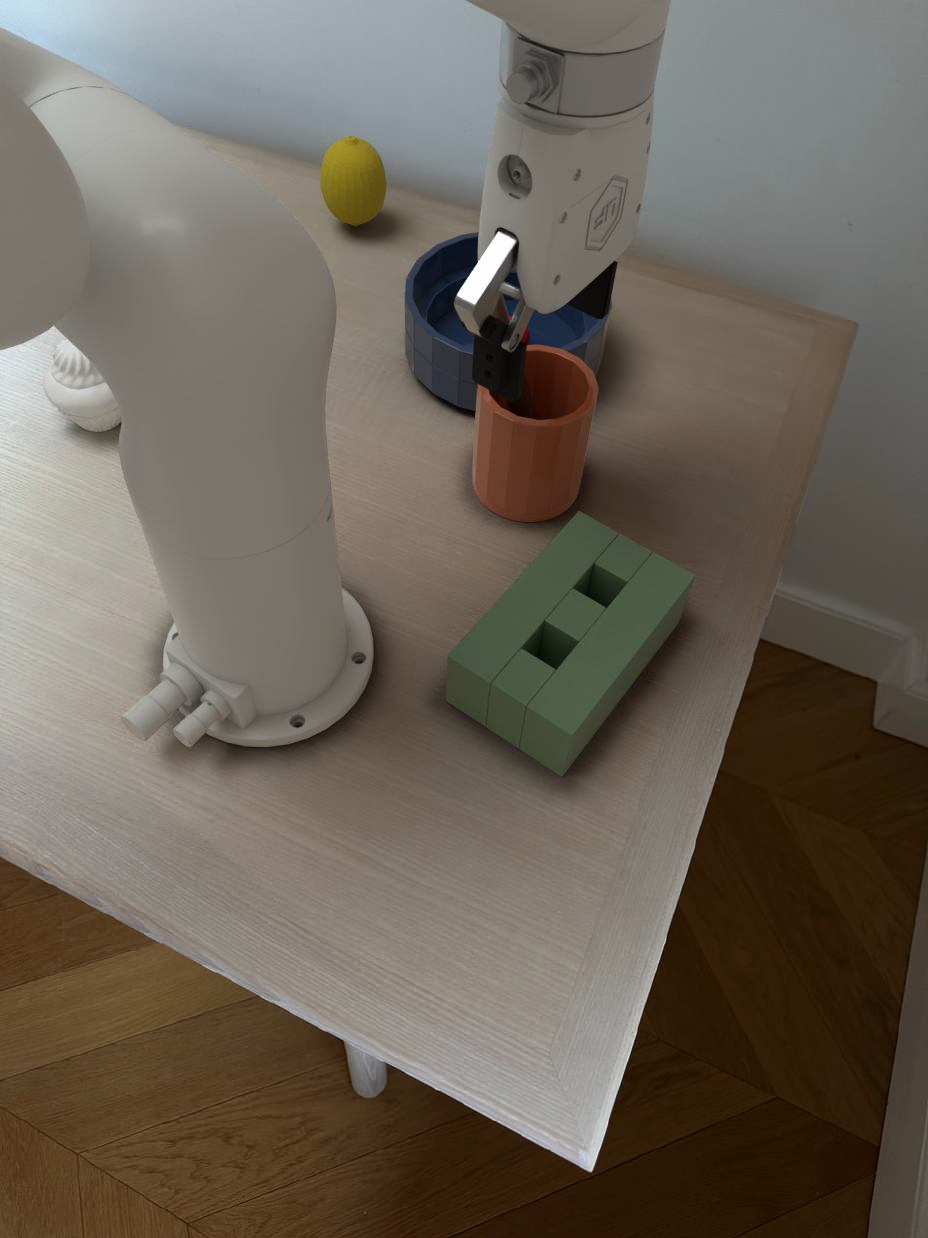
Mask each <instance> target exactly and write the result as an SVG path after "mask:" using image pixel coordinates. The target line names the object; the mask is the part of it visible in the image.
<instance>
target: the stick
mask: <svg viewBox="0 0 928 1238" xmlns="http://www.w3.org/2000/svg"><path fill="white" fill-rule="evenodd" d="M492 316H493V317H495V318H497V319H499V320H501V321H502V322H504V323H505V324H507V325H509V322H510V318H509V315H508V311H507V308H506V304H505V301H504V297H503V294H502V293H501V295H500V298H499V300H498V302H497V304H496V307H495V309H494V311H493V314H492ZM507 402H508V405H509V408H510V412H511V413H513V414H515V415H517V416H520V417H525V418H530V419H535V420H538V418H537V415H536V411H535V408H534V404H533V400H532V397H531V393H530V390H529V386H528V383H527V379H526V375H525V372H524V376H523V384H522V393H521V396H520V397H519V398H518V399H517V400H516V401H515V402H511V401H509V400H507Z"/></svg>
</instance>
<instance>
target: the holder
mask: <svg viewBox="0 0 928 1238" xmlns="http://www.w3.org/2000/svg"><path fill="white" fill-rule="evenodd" d="M695 579H696V574H695V573H693V572H691V571H689V570H687V569H685V568H684V567H682V566H680V565H678V564H676V563H674V562H673V561H671V560H669V559H667V558H665V557H663V556H662V555H660V554H658V553H657V552H655V551H653V550H651V549H649V548H647V547H645V546H643V545H642V544H640V543H638V542H636V541H635V540H633V539H631V538H629V537H628V536H625V535H624V534H622V533H619V532H618V531H616V530H614V529H613V528H611V527H609V526H608V525H605V524H604V523H602V522H600V521H598V520H596V519H595V518H593V517H591V516H589V515H587V514H585V513H584V512H582V511H580V510H577V512H576V513H575V514H574V515H573V516H572V518H571V519H570V520H569V521H568V522H567V523H566V524H565V525H564V526H563V528H561V530H560V531H559V532H558V533H557V534H556V535H555V537H553V538H552V540H551V541H550V542H549V543H548V544H547V545H546V547H545V548H543V550H542V551H541V552H540V553H539V554H538V555H537V556H536V557H535V558H534V559H533V561H532V562H531V563H530V564H529V565H528V566H527V567H526V569H524V570H523V572H522V573H521V574H520V575H519V576H518V577H517V579H515V581H513V583H512V584H511V585H510V586H509V587H508V588H507V590H506V591H505V592H504V593H502V595H500V597H499V598H498V599H497V601H495V603H494V604H493V605H492V606H491V607H490V608H489V609H488V610H487V611H486V612H485V614H484V615H483V616H482V617H481V618H480V619H479V620H478V621H477V623H476V624H474V626H473V627H472V628H471V629H470V630H469V631H468V633H466V634H465V636H463V638H462V639H461V640H460V641H459V642H458V643H457V644H456V645H455V647H454V648H453V649H452V650H451V651H450V652H449V653H448V654H447V661H446V682H445V683H446V684H445V685H446V686H445V702H447V703H448V704H450V705H451V706H452V707H454V708H456V709H457V710H459V711H460V712H462V713H463V714H465V715H467V716H468V717H470V718H471V719H473V721H475V722H477V723H479V724H480V725H482V726H483V727H486V729H488V730H489V731H491V732H492V733H493V734H495V735H497V737H500V738H501V739H503V740H504V741H506V742H508V743H509V744H510V745H512V746H514V747H515V748H516V749H519V751H521V752H523V753H524V754H526V756H528V757H530V758H532V759H533V760H535V761H536V762H538V763H539V764H541V765H542V766H543V767H545V768H547V769H548V770H549V771H551V772H552V773H554V774H556V775H557V776H559V777H561V778H563V777H564V775H565V774H566V773H567V771H568V770H569V769H570V767H571V766H572V765H573V763H574V762H575V761H576V759H578V757H579V755H581V753H582V752H583V750H584V749H585V747H586V746H587V745H588V744H589V742H590V741H591V739H592V738H593V737H594V736H595V734H596V732H598V730H599V729H600V728H601V726H602V725H603V724H604V722H606V720H607V719H608V717H609V716H610V714H611V713H612V712H613V710H615V708H616V707H617V705H618V704H619V703H620V701H621V700H622V699H623V697H624V696H625V695H626V693H627V692H628V691H629V690H630V688H631V687H632V685H633V684H634V683H635V681H636V680H637V678H639V676H640V675H641V673H642V672H643V671H644V670H645V669H646V667H647V665H648V664H650V662H651V660H652V659H653V658H654V656H655V655H656V653H657V652H658V651H659V650H660V648H661V647H662V646H663V645H664V643H665V641H666V640H667V639H668V638H669V636H670V635H671V634H672V632H673V631H674V630H675V628H677V626H678V625H679V623H680V620H681V617H682V615H683V613H684V609H685V608H686V607H685V606H686V604H687V601H688V598H689V596H690V593H691V590H692V588H693V584H694V582H695Z"/></svg>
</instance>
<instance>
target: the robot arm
mask: <svg viewBox="0 0 928 1238" xmlns="http://www.w3.org/2000/svg"><path fill="white" fill-rule="evenodd" d="M465 2H468V3H469V4H471V5H474V6H475V7H477V8H479V9H481V10H482V11H485V12H486V13H489V14H490V15H492V16H495V17H496V18H498V19H500V20H501V28H500V43H499V59H498V74H497V88H498V91H499V93H500V96H501V98H500V100H499V101H498V104H497V109H496V114H495V118H494V123H493V127H492V132H491V133H492V134H491V137H490V144H489V149H488V155H487V161H486V167H485V173H484V182H483V187H482V195H481V204H480V214H479V225H478V232H479V236H478V263H477V265H476V266H475V268H474V269H473V271H472V272H471V274H470V275H469V277H468V278H467V280H466V281H465V283H464V284H463V286H462V288H461V289H460V291H459V292H458V294H457V295H456V297H455V301H454V307H455V309H456V311H457V313H458V315H459V317H460V319H461V325H462V327H463V328H465V329H466V330H468V331H469V332H471V333H473V334H474V348H473V365H472V378H473V380H474V382H475V383H477V384H479V385H481V386H483V387H485V388H486V389H488V390H490V391H492V392H494V393H496V394H498V395H500V396H502V397H504V398H505V399H507V400H509V401H511V402H515V401H516V400H517V399H518V398H519V397H520V396H521V393H522V384H523V376H524V367H525V358H526V349H527V344H525V343H524V342H523V341H521V338H522V336H523V334H524V332H525V329H526V327H527V325H528V323H529V320H530V318H531V316H532V314H533V312H534V309H535V310H537V311H538V312H539V313H542V314H548V313H551V312H554V311H556V310H557V309H559V308H561V307H562V306H564V305H565V304H567V305H569V306H571V307H573V308H575V309H577V310H580V311H582V312H584V313H586V314H588V315H590V316H592V317H594V318H596V319H603V318H604V317H605V316H606V315H607V314H608V312H609V306H610V301H611V299H612V295H613V290H614V285H615V280H616V274H617V269H618V263H619V262H618V261H616V260H617V259H618V258H619V257H620V256H621V255H622V254H623V253H624V252H625V251H626V250H627V249H628V248H629V246H630V245H631V243H632V242H633V240H634V239H635V237H636V235H637V231H638V227H639V222H640V216H641V212H642V211H641V210H642V205H643V198H644V193H645V186H646V181H647V180H646V179H647V173H648V166H649V158H650V151H651V141H652V134H653V123H654V111H655V110H654V108H655V107H654V106H655V86H656V81H657V75H658V69H659V65H660V59H661V55H662V49H663V44H664V38H665V33H666V29H667V23H668V16H669V11H670V6H671V2H672V0H465ZM511 270H513V271H516V272H517V275H518V279H519V283H520V286H521V289H520V288H518V287H516V286H513V285H511V284H509V283H507V282H505V281H504V280H505V279H506V277H507V276H508V274H509V273H510V271H511ZM501 293H502V294H504V295H507V296H509V297H511V298H513V299H515V300H517V301H519V302H518V304H517V307H516V309H515V311H514V313H513V316H512V318H511V320H510V322H509V325H507V324H505V323H504V322H502V321H501V320H499V319H497V318H495V317H493V316H492V314H493V311H494V309H495V307H496V304H497V302H498V300H499V298H500V295H501ZM337 307H338V305H337V296H336V288H335V284H334V280H333V276H332V273H331V270H330V268H329V266H328V263H327V261H326V259H325V257H324V255H323V254H322V252H321V250H320V248H319V247H318V245H317V244H316V242H315V240H314V239H313V237H312V236H311V235H310V234H309V232H308V231H307V230H306V228H305V227H304V226H303V225H302V224H301V222H299V220H298V219H297V218H296V217H295V216H294V215H293V214H292V212H291V211H290V210H288V208H286V207H285V206H284V205H283V204H282V203H281V202H280V201H279V200H278V199H277V198H276V197H275V196H273V195H272V194H271V193H270V192H269V191H267V190H266V189H265V188H263V187H262V186H261V185H260V184H258V183H257V182H256V181H255V180H253V179H252V178H250V177H249V176H248V175H247V174H246V173H244V172H242V171H241V170H239V168H237V167H236V166H234V165H233V164H232V163H230V162H229V161H227V160H226V159H225V158H223V157H222V156H220V155H219V154H217V153H216V152H215V151H213V150H212V149H211V148H209V147H208V146H206V145H205V144H203V143H201V142H200V141H199V140H197V139H195V138H193V137H192V136H190V135H188V134H187V133H185V132H184V131H183V130H182V129H180V128H178V127H177V126H175V125H174V124H173V123H171V122H170V121H168V120H167V119H166V118H165V117H163V116H162V115H160V114H159V113H158V112H156V111H155V110H153V109H152V108H150V106H148V105H146V104H145V103H143V102H142V101H141V100H139V99H138V98H137V97H135V96H134V95H132V94H130V93H129V92H127V91H126V90H124V89H123V88H121V87H120V86H118V85H116V84H115V83H113V82H111V81H110V80H108V79H107V78H105V77H102V76H100V75H99V74H97V73H95V72H93V71H91V70H89V69H87V68H85V67H83V66H81V65H79V64H77V63H75V62H73V61H71V60H69V59H67V58H65V57H63V56H61V55H59V54H57V53H55V52H53V51H50V50H48V49H46V48H44V47H42V46H40V45H38V44H36V43H34V42H32V41H30V40H28V39H25V38H24V37H21V36H19V35H17V34H15V33H13V32H11V31H9V30H7V29H5V28H3V27H1V26H0V351H4V350H7V349H11V348H14V347H17V346H20V345H23V344H25V343H27V342H30V341H31V340H34V339H35V338H37V337H39V336H41V335H42V334H45V333H46V332H48V331H50V330H51V329H52V328H53V327H54V328H55V329H56V330H57V331H58V332H59V333H60V334H61V335H63V337H65V339H66V338H67V339H68V340H69V341H70V342H71V343H72V344H73V345H74V346H75V347H76V348H77V349H78V350H79V351H81V352H82V353H83V354H84V355H85V356H86V357H87V358H88V360H89V361H90V362H91V363H92V364H93V366H94V367H95V368H96V369H97V371H98V372H99V373H100V375H101V376H102V377H103V379H104V380H105V382H106V383H107V385H108V387H109V388H110V390H111V391H112V393H113V395H114V397H115V399H116V401H117V404H118V407H119V410H120V414H121V419H122V421H121V425H120V430H119V435H118V456H119V463H120V467H121V470H122V474H123V478H124V481H125V485H126V488H127V491H128V495H129V496H130V500H131V503H132V505H133V506H132V507H133V510H134V511H135V515H136V516H137V519H138V521H139V523H140V527H141V529H142V533H143V535H144V538H145V541H146V545H147V546H148V550H149V552H150V553H149V554H150V555H151V558H152V561H153V564H154V567H155V570H156V573H157V576H158V579H159V581H160V584H161V587H162V591H163V593H164V596H165V599H166V601H167V606H168V608H169V611H170V614H171V617H172V620H173V623H172V625H171V627H170V629H169V631H168V632H167V637H166V641H165V643H164V648H163V655H162V656H163V657H162V669H163V671H162V672H161V673H159V680H160V683H158V684H157V685H156V686H155V687H154V688H153V689H152V690H151V691H149V692H148V693H147V694H144V695H143V696H142V697H141V698H140V699H139V700H138V701H137V702H136V703H134V704H133V705H132V706H131V707H130V708H129V709H128V710H126V711H125V713H123V714H122V715H121V716H120V720H121V722H122V723H123V725H124V726H125V727H126V729H127V730H129V731H130V733H131V734H132V735H134V736H135V737H136V738H137V739H139V740H141V741H142V742H147V741H148V740H149V739H150V738H151V737H152V736H154V734H155V733H157V731H159V730H160V729H161V728H162V727H163V726H164V725H165V724H166V723H167V722H168V721H170V717H172V716H173V714H174V713H175V712H177V710H179V712H180V713H181V714H182V715H183V716H184V718H183V719H182V720H180V722H179V723H178V724H177V725H176V726H175V727H173V728H172V733H173V735H174V737H176V738H177V740H178V741H179V742H180V743H182V744H183V745H184V746H185V747H188V748H192V747H193V746H194V745H195V744H196V742H198V741H199V739H201V738H202V737H203V736H204V735H205V734H206V735H208V736H210V737H212V738H215V739H217V740H220V741H222V742H224V743H227V744H228V743H229V744H233V745H237V746H242V747H248V748H249V747H250V748H251V747H252V748H253V747H254V748H271V747H278V746H286V745H291V744H294V743H297V742H300V741H304V740H307V739H310V738H311V737H313V736H315V735H317V734H319V733H321V732H323V731H326V730H327V729H329V728H330V727H331V726H332V725H334V724H335V723H337V722H338V721H340V720H341V719H342V718H343V717H345V715H346V714H347V713H348V712H350V710H351V709H352V708H353V707H354V706H355V705H356V704H357V702H358V701H359V699H360V697H361V696H362V694H363V692H364V691H365V690H366V687H367V685H368V682H369V679H370V677H371V674H372V671H373V665H374V656H375V653H374V637H373V634H372V629H371V623H370V622H369V620H368V619H369V618H368V617H367V615H366V613H365V610H364V609H363V608H362V607H361V605H360V604H359V602H358V601H357V600H356V598H355V597H354V596H353V595H352V594H351V593H350V592H348V591H347V590H346V589H345V588H344V587H343V586H342V577H341V569H340V559H339V558H340V557H339V548H338V539H337V529H336V521H335V520H336V519H335V509H334V501H333V491H332V481H331V471H330V460H329V450H328V439H327V421H326V419H327V418H326V406H327V404H326V403H327V387H328V379H329V378H328V377H329V369H330V365H331V358H332V353H333V346H334V342H335V335H336V325H337ZM298 726H299V727H298Z"/></svg>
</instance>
